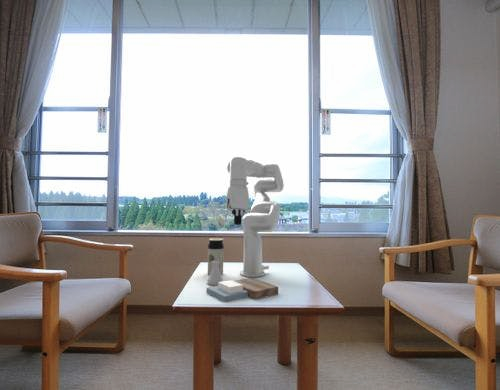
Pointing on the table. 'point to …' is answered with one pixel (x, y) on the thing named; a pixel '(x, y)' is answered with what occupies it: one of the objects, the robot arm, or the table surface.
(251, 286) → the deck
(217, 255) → the travel mug
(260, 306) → the table surface
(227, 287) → the tile
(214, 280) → the flask
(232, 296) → the mat
